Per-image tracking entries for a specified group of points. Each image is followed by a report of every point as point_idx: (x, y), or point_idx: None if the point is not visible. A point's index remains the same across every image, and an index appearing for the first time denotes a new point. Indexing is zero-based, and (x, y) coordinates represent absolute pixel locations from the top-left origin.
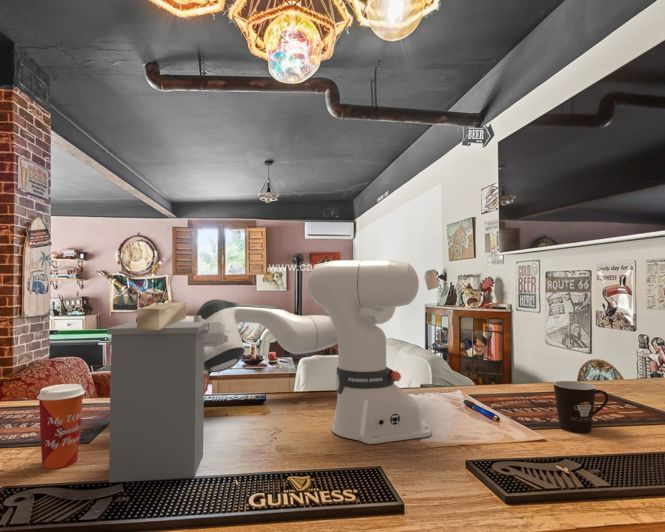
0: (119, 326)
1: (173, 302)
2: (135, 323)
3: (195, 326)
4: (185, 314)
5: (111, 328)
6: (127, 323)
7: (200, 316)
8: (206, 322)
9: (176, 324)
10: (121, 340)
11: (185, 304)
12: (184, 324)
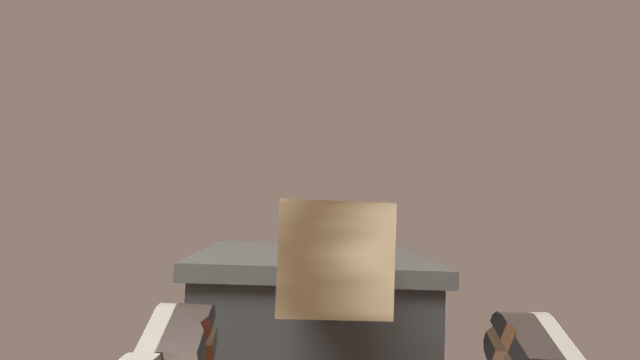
0: (404, 252)
1: (366, 202)
2: (413, 264)
3: (226, 242)
4: (276, 285)
5: (395, 246)
6: (440, 266)
7: (164, 305)
8: (182, 260)
9: (276, 252)
10: None
11: (280, 212)
12: (254, 251)
